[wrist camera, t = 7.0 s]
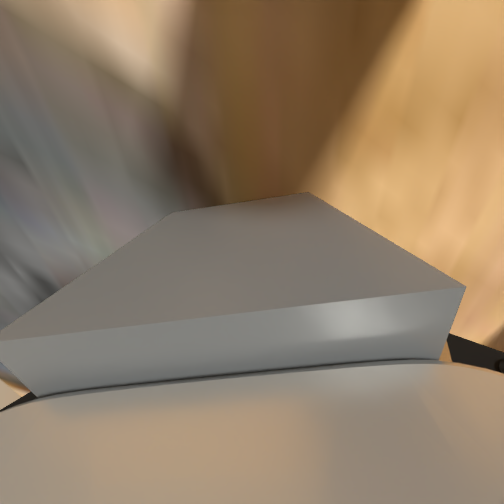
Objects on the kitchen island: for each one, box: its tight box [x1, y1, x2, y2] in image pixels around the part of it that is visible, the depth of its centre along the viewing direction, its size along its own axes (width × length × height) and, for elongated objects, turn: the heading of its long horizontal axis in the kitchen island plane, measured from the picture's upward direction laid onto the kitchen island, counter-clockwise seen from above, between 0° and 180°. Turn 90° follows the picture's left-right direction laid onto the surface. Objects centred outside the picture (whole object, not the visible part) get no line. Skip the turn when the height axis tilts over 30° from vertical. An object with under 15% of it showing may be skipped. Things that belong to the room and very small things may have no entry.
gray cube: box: [0, 192, 466, 398], centre depth 9 cm, size 8×8×9 cm
